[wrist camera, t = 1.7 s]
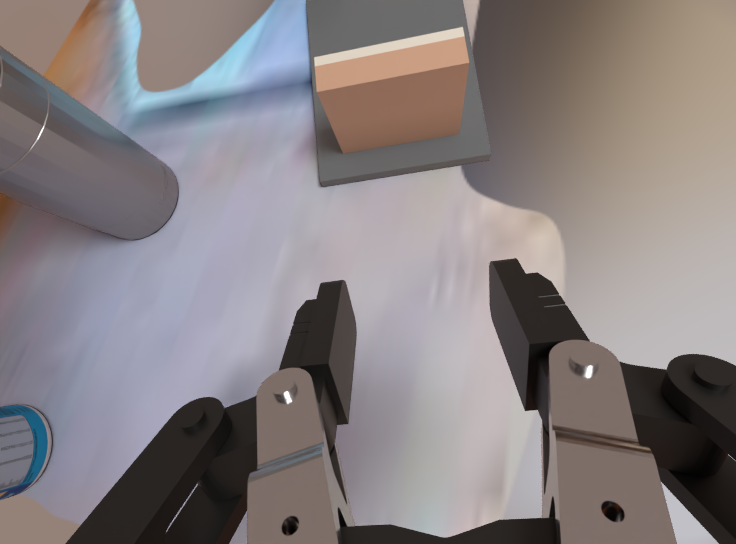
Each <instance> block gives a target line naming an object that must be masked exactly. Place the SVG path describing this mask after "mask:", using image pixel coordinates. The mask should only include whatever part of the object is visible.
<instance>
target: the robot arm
mask: <svg viewBox="0 0 736 544" xmlns="http://www.w3.org/2000/svg"><path fill="white" fill-rule="evenodd" d="M0 193H1V194H3V195H5V196H6V197H8V198H10V199H13V200H15V201H18V202H21V203H24V204H26V205H29V206H32V207H34V208H37V209H40V210H43V211H45V212H48V213H51V214H53V215H56V216H59V217H62V218H64V219H67V220H70V221H73V222H75V223H78V224H81V225H83V226H86V227H89V228H92V229H94V230H97V231H103V232H105V233H108V234H111V235H114V236H116V237H119V238H122V239H129V240H134V239H141V238H144V237H146V236H149V235H151V234H152V233H154V232H156V231H157V230H158V229H160V228H161V227H162V226H163V225H164V224H165V223H166V222H167V220H168V219H169V218H170V216H171V214H172V212H173V211H174V209H175V206H176V203H177V198H178V183H177V180H176V177H175V175H174V173H173V172H172V170H171V169H170V168H169V167H168V166H167V165H166V164H165V163H164V162H162V161H161V160H159V159H158V158H157V157H155V156H154V155H152V154H151V153H150V152H148V151H147V150H145V149H144V148H143V147H141V146H140V145H139V144H137V143H136V142H135V141H133V140H132V139H130V138H129V137H128V136H126V135H125V134H123V133H122V132H121V131H119V130H118V129H116V128H115V127H114V126H112V125H111V124H109V123H108V122H107V121H105V120H104V119H102V118H101V117H100V116H98V115H97V114H95V113H94V112H93V111H91V110H90V109H88V108H87V107H86V106H84V105H83V104H81V103H80V102H79V101H77V100H76V99H74V98H73V97H72V96H70V95H69V94H67V93H66V92H65V91H63V90H62V89H60V88H59V87H58V86H56V85H55V84H53V83H52V82H51V81H49V80H48V79H46V78H45V77H44V76H42V75H41V74H39V73H38V72H37V71H35V70H34V69H32V68H31V67H29V66H28V65H27V64H25V63H24V62H22V61H21V60H19V59H18V58H17V57H15V56H14V55H13V54H11V53H10V52H8V51H7V50H6V49H4V48H3V47H1V46H0ZM489 290H490V311H491V317H492V321H493V324H494V327H495V329H496V332H497V335H498V338H499V340H500V343H501V346H502V349H503V351H504V354H505V357H506V360H507V363H508V365H509V368H510V371H511V374H512V376H513V379H514V382H515V385H516V387H517V390H518V393H519V396H520V398H521V401H522V404H523V407H524V409H525V411H529V410H538V412H539V414H540V416H541V419H542V428H541V455H542V518H532V519H509V520H498V521H495V522H492V523H489V524H486V525H483V526H481V527H478V528H475V529H472V530H469V531H466V532H463V533H461V534H458V535H455V536H452V537H448V538H443V537H438V536H434V535H430V534H426V533H422V532H418V531H414V530H410V529H406V528H402V527H398V526H394V525H370V526H355V523H354V520H353V516H352V512H351V508H350V504H349V499H348V495H347V490H346V486H345V481H344V477H343V472H342V467H341V463H340V458H339V454H338V449H337V445H336V442H335V436H336V428H337V425H342V424H348V423H349V412H350V401H351V390H352V380H353V369H354V358H355V347H356V336H357V332H356V322H355V316H354V313H353V309H352V305H351V301H350V297H349V293H348V289H347V285H346V282H345V281H344V280H339V281H332V282H324V283H321V284H320V287H319V291H318V295H317V299H313V300H306V302H305V303H304V304H303V305H302V306H301V307H300V309H299V310H298V311H297V313H296V316H295V320H294V323H293V324H294V326H292V329H291V333H290V334H291V336H289V339H288V342H287V346H286V349H285V352H284V355H283V358H282V362H281V365H280V368H279V371H278V372H276V373H274V374H272V375H271V376H269V377H268V378H267V379H266V380H265V381H264V382H263V383H262V385H261V386H260V388H259V390H258V392H257V396H255V397H253V398H251V399H248V400H245V401H243V402H240V403H237V404H235V405H232V406H229V407H226V408H224V406H223V405H222V403H221V402H220V401H219V400H218V399H216V398H213V397H204V398H199V399H196V400H194V401H191V402H189V403H188V404H186V405H184V406H183V407H181V408H180V409H179V410H178V411H177V412H176V413H175V414H174V415H173V416H172V417H171V418H170V419H169V421H168V422H167V423H166V424H165V425H164V426H163V428H162V429H161V430H160V431H159V432H158V434H157V435H156V436H155V437H154V438H153V440H152V441H151V442H150V443H149V444H148V446H147V447H146V448H145V449H144V450H143V452H142V453H141V454H140V455H139V456H138V458H137V459H136V460H135V461H134V462H133V464H132V465H131V466H130V467H129V468H128V470H127V471H126V472H125V473H124V474H123V476H122V477H121V478H120V479H119V480H118V482H117V483H116V484H115V485H114V486H113V488H112V489H111V490H110V491H109V492H108V493H107V495H106V496H105V497H104V498H103V499H102V501H101V502H100V503H99V504H98V505H97V507H96V508H95V509H94V510H93V511H92V513H91V514H90V515H89V516H88V517H87V519H86V520H85V521H84V522H83V523H82V525H81V526H80V527H79V528H78V530H77V531H76V532H75V533H74V534H73V535H72V537H71V538H70V539H69V540H68V541H67V543H66V544H229V543H230V541H231V539H232V537H233V535H234V533H235V531H236V530H237V528H238V526H239V524H240V522H241V520H242V518H243V517H244V515H245V513H246V511H247V544H677V542H676V538H675V534H674V531H673V527H672V523H671V519H670V515H669V511H668V508H667V504H666V500H665V496H664V492H663V488H662V484H661V482H662V483H663V484H664V485H665V486H666V487H667V488H668V489H669V490H670V492H671V493H672V494H673V495H674V496H675V497H676V498H677V499H678V500H679V501H680V502H681V503H682V504H683V505H684V506H685V508H686V509H687V510H688V511H689V512H690V513H691V514H692V515H693V516H694V517H695V518H696V519H697V520H698V521H699V522H700V524H701V525H702V526H703V527H704V528H705V529H706V530H707V531H708V532H709V533H710V534H711V535H712V536H713V537H714V539H715V540H717V542H718V543H719V544H736V461H735V460H736V366H735V365H733V364H731V363H729V362H727V361H724V360H721V359H718V358H715V357H712V356H707V355H699V354H687V355H681V356H678V357H676V358H674V359H673V360H671V361H670V363H669V364H668V367H667V370H664V369H657V368H650V367H643V366H635V365H630V364H625V363H622V362H619V361H618V359H617V358H616V356H614V354H613V353H611V352H610V351H609V350H608V349H606V348H604V347H603V346H601V345H599V344H595V343H593V342H590V341H589V339H588V338H587V336H586V334H585V333H584V331H583V330H582V328H581V327H580V325H579V324H578V322H577V321H576V319H575V317H574V316H573V314H572V313H571V311H570V310H569V308H568V307H567V306H566V305H565V302H564V300H563V299H562V297H561V296H559V293H558V291H557V290H556V288H555V287H554V285H553V283H552V282H551V281H550V280H548V279H546V278H545V277H543V276H542V275H540V274H539V273H529V274H525V272H524V270H523V268H522V267H521V265H520V263H519V261H518V260H517V259H516V258H514V259H507V260H499V261H491V262H490V265H489ZM728 454H729V455H730V456H731V457H732V458H733V459H735V460H733V459H732V458H731V457H730V456H729V455H728ZM197 483H198V486H197V487H196V489H195V490H194V492H193V493H192V495H191V496H190V498H189V499H188V501H187V502H186V504H185V505H184V507H183V508H182V510H181V511H180V513H179V514H178V516H177V517H176V519H175V520H174V522H173V523H172V525H171V526H170V528H169V529H168V531H167V532H166V530H167V528H168V526H169V525H170V523H171V521H172V520H173V518H174V517H175V516H176V514H177V513H178V511H179V510H180V508H181V507H182V505H183V504H184V502H185V501H186V499H187V498H188V496H189V495H190V493H191V492H192V490H193V489H194V487H195V486H196V484H197ZM165 533H166V534H165Z"/></svg>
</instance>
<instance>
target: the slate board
mask: <svg viewBox="0 0 736 544" xmlns="http://www.w3.org/2000/svg"><path fill="white" fill-rule="evenodd" d="M306 5H307V19H308V32H309V45H310V59H311V72H312V85H313V99H314V112H315V126H316V139H317V152H318V166H319V179H320V183H321V185H322V186H323V187H326V186H332V185H339V184H345V183H351V182H358V181H364V180H370V179H376V178H383V177H389V176H395V175H401V174H408V173H414V172H420V171H426V170H433V169H439V168H445V167H451V166H458V165H464V164H470V163H476V162H483V161H489V159H490V156H491V150H490V145H489V139H488V134H487V128H486V123H485V118H484V112H483V107H482V102H481V97H480V91H479V85H478V80H477V75H476V69H475V64H474V58H473V53H472V47H471V42H470V37H469V31H468V26H467V20H466V15H465V10H464V4H463V0H306ZM460 27H463V31H464V36H465V42H466V47H467V53H468V58H469V68H468V75H467V82H466V89H465V96H464V103H463V110H462V117H461V124H460V131H459V134H457V135H451V136H445V137H439V138H433V139H427V140H421V141H415V142H409V143H404V144H398V145H392V146H386V147H380V148H374V149H368V150H362V151H357V152H351V153H345V154H343V152H342V150H341V148H340V145H339V143H338V141H337V138H336V136H335V134H334V131H333V129H332V127H331V124H330V122H329V120H328V117H327V115H326V113H325V110H324V108H323V106H322V103H321V101H320V99H319V96H318V94H317V89H316V76H315V63H314V57H318V56H323V55H328V54H333V53H338V52H343V51H348V50H353V49H357V48H362V47H367V46H372V45H377V44H382V43H387V42H392V41H396V40H401V39H406V38H411V37H416V36H421V35H426V34H431V33H435V32H440V31H445V30H450V29H455V28H460Z"/></svg>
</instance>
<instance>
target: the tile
mask: <svg viewBox="0 0 736 544" xmlns="http://www.w3.org/2000/svg"><path fill="white" fill-rule="evenodd" d="M314 63H315V76H316V89H317V94H318V96H319V99H320V101H321V103H322V106H323V108H324V110H325V113H326V115H327V117H328V120H329V122H330V124H331V127H332V129H333V131H334V134H335V136H336V138H337V141H338V143H339V145H340V148H341V150H342V152H343V154H345V153H351V152H357V151H362V150H368V149H374V148H380V147H386V146H392V145H398V144H404V143H409V142H415V141H421V140H427V139H433V138H439V137H445V136H451V135H457V134H459V131H460V124H461V117H462V110H463V103H464V96H465V89H466V82H467V75H468V68H469V58H468V53H467V47H466V42H465V36H464V31H463V27H460V28H455V29H450V30H445V31H440V32H435V33H431V34H426V35H421V36H416V37H411V38H406V39H401V40H396V41H392V42H387V43H382V44H377V45H372V46H367V47H362V48H357V49H353V50H348V51H343V52H338V53H333V54H328V55H323V56H318V57H314Z"/></svg>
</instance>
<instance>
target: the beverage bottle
mask: <svg viewBox="0 0 736 544" xmlns="http://www.w3.org/2000/svg"><path fill="white" fill-rule="evenodd" d="M51 446H52V438H51V431H50V427H49V425H48V423H47V421H46V419H45V418H44V416H43V415H42V414H41V413H40V412H39V411H37V410H36V409H34V408H32V407H30V406H26V405H11V406H4V407H0V500H2V499H5V498H8V497H11V496H14V495H17V494H19V493H21V492H23V491H25V490H26V489H28V488H29V487H30V486H31V485H32V484H34V483H35V482H36V480H37V479H38V478H39V477H40V475H41V474H42V473H43V471H44V469H45V467H46V465H47V463H48V460H49V457H50V453H51Z"/></svg>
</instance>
